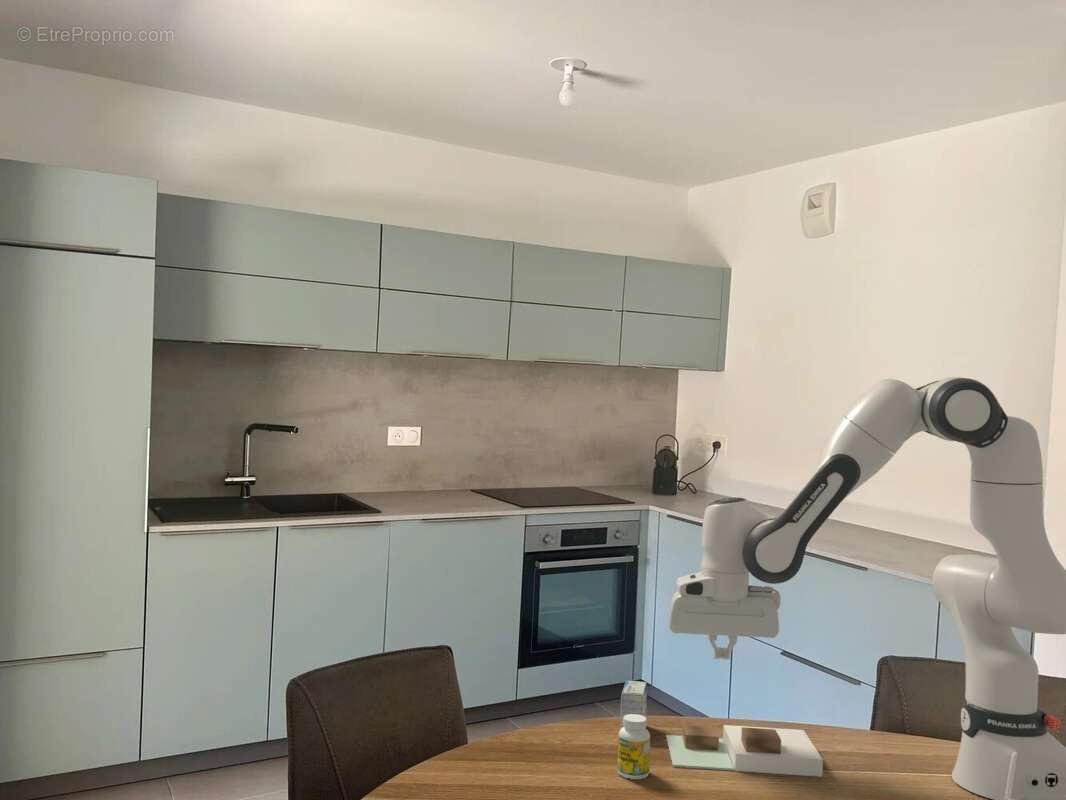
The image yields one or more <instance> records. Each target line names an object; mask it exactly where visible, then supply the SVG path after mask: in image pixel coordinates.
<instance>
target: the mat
mask: <svg viewBox="0 0 1066 800" xmlns="http://www.w3.org/2000/svg"><path fill="white" fill-rule="evenodd" d="M665 738H667V739H666V743H667V742H668V743H667V748H668V747H669V748H668V751H670V752H669V755H670V760H672V761H671V763H672V768H683V767H684V768H685V769H686V768H687V769H701V770H702V769H703V770H712V771H714V770H716V771H730V772H731V771H732V772H735V769H734V767H733V765H732V762H731V760H730V757H729V755H728V752H727V750H726V747H725V745H724V742H723V737H722V738H721V737H719V744H718V751H717V750H702V749H687V748H685V745H684V742H683V735H675V734H673V735H672V734H666V735H665ZM684 768H683V769H684Z"/></svg>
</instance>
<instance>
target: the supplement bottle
mask: <svg viewBox="0 0 1066 800" xmlns="http://www.w3.org/2000/svg"><path fill="white" fill-rule="evenodd" d="M623 725H624V727H623V728H622V729H621V730H619V731H618V747H617V750H618V751H617V772H618V774H619V775H620V776H621V777H622V778H625V779H628V778H630V779H629V780H642V779H646V778H647V777H648V776H649V773H650V752H651V751H650V749H651V748H650V745H651V733H650V732H649V730H648V729H646V728H647V726H648V725H647V717H646V718H645V717H644V716H642V715H637V714H628V715H625V716H624V717H623Z"/></svg>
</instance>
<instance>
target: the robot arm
mask: <svg viewBox="0 0 1066 800" xmlns="http://www.w3.org/2000/svg"><path fill="white" fill-rule="evenodd" d="M921 432H925V433H927V434H930V435H932V436H935V437H937V438H938V439H942V440H945V441H948V442H949V441H950V442H957V443H961V444H964V445H965V447H966V448H967V450H968V454H969V458H970V462H971V465H970V491H969V492H970V497H969V498H970V499H969V500H970V502H969V504H970V506H969V509H970V510H969V513H970V514H969V516H970V517H969V518H970V522H971V525H972V527H973V528H974V529H975V530H976V531H977V532H978V533H979V534H980V535H981V536H983V537H984V538H985V539H986V540H987V541H988V542H989V544H991V546H992V548H993V550H994V552H995V554H996V557H991V556H984V555H980V554H968V553H966V554H964V553H963V554H950V555H946V556H944V557H943V558H941V560H940V561H939V562H938V563H937V565H936V567H935V568H934V570H933V573H932V579H931V580H932V581H931V583H932V584H931V585H932V590H933V594H934V595H935V597H936V599H937V601H938V602H939V603H940V604H941V605H942V606H943V608H945V610H946V611H947V612H948V614H949V615H950V616H951V618H952V620H953V622H954V624H955V627H956V629H957V631H958V634H959V636H960V639H961V642H962V643H961V644H962V646H963V650H964V657H965V658H964V659H965V661H964V662H965V693H964V694H965V695H964V696H963V697H962V701H961V703H962V704H961V710H960V711H961V712H960V724H961V725H960V726H961V731H962V733H961V739H960V745H959V750H958V755H957V758H956V761H955V764H954V767H953V770H952V771H951V772H952V773H951V778H952V780H953V782H954V783H956V784H958V785H959V786H960V787H961V788H963V789H964V790H966V791H968V792H971V793H974V794H975V795H978V796H981V797H984V798H987V799H991V800H1066V746H1065V745H1063V744H1062V743H1061V742H1060V741H1059V740H1058V739H1056V737H1054V736H1053V735H1052V734H1050V733H1049V732H1048V728H1047V727H1049V728H1050V729H1051V730H1052V731H1057V730H1059V729H1060V728H1061V725H1062V724H1061V721H1060V719H1059V718H1058V717H1056V716H1054V715H1052V714H1048V713H1046V712H1044V711H1043V710H1041V709H1040V708H1038V699H1039V697H1038V696H1039V695H1038V694H1039V692H1038V691H1039V667H1038V664H1037V662H1036V659H1035V658H1034V657H1033V655H1031V653H1029V651H1027V650H1026V649H1025V648H1024V647H1023V646H1022V645H1021V644H1020V643H1019V641H1018V640H1017V638H1016V636H1015V635H1014V632H1013V629H1012V628H1014V629H1015V628H1016V629H1019V630H1024V631H1027V632H1031V633H1036V634H1045V635H1046V634H1047V635H1066V569H1065V568H1064V566H1063V565H1062V563H1061V562H1060V561H1059V560H1058V558H1057V555H1056V554H1055V552H1054V550H1053V548H1052V546H1051V544H1050V541H1049V539H1048V536H1047V533H1046V528H1045V519H1044V500H1043V499H1044V498H1043V497H1044V491H1043V490H1044V489H1043V487H1044V486H1043V485H1044V483H1043V482H1044V475H1043V474H1044V473H1043V472H1044V471H1043V459H1042V451H1041V446H1040V445H1041V444H1040V441H1039V436H1038V432H1037V430H1036V428H1035V427H1034V425H1032V423H1030V422H1028V421H1027V420H1025V419H1022V418H1020V417H1016V416H1009V415H1007V414H1006V412H1005V410H1004V409H1003V407H1002V406H1001V405H1000V403H999V400H998V399H997V397H996V395H995V394H994V393H993V391H992V390H991V389H990V388H989V387H988V386H986V385H985V384H984V383H982V382H981V381H978V380H976V379H972V378H968V377H967V378H966V377H961V376H960V377H959V376H958V377H957V376H951V377H945V378H942V379H939V380H936V381H933V382H930V383H927V384H925V385H922V386H919V387H916V388H914V387H913V386H911V385H909V384H908V383H906V382H905V381H902V380H899V379H894V378H887V379H882V380H880V381H878V382H877V383H876V384H874V385H873V386H872V387H871V388H869V389H868V390H867V391H866V392H865V393H863V394H862V395H861V396H860V397H859V398H858V399H857V400H856V401H855V402H854V403H853V404H852V405H851V406H850V407H849V408H848V409H847V411H846V412H845V413H844V414H843V415H842V416H841V417H840V419H839V420H838V421H837V422H836V424H835V425H834V426H833V428H832V430H830V432H829V434H828V436H827V437H826V439H825V441H824V443H823V445H822V447H821V449H820V452H819V457H818V460H817V463H816V466H815V468H814V471H813V473H812V475H811V477H810V478H809V480H808V481H807V483H806V484H805V485H804V487H803V488H802V489H801V490H800V492H798V494H797V495H796V497H794V498H793V500H791V503H789V505H788V506H787V507H786V508H785V509H784V511H783V512H782V513H781V514H780V515H779V516H776V515H773V514H770V513H767V512H765V511H764V510H762V509H760V508H758V507H757V506H755V505H754V504H752V503H751V502H749V501H748V499H746V498H743V497H738V496H737V497H726V498H720V499H716V500H713V501H711V502H710V504H708V506H707V507H706V508H705V510H704V514H703V519H702V520H703V521H702V531H701V546H702V552H703V555H702V560H701V563H700V571H698V572H695V573H691V574H687V575H683V576H680V577H677V578H676V581H675V582H676V583H675V584H676V585H675V586H676V591H675V592H674V593H673V595H672V597H671V599H670V602H669V603H670V604H669V609H668V616H667V617H668V618H667V619H668V620H667V625H668V628H669V630H670V631H671V632H672V633H674V634H688V635H689V634H690V635H691V634H692V635H707V638H708V640H709V642H710V644H711V646H712V648H713V650H712V651H713V652H712V653H713V659H716V660H717V659H718V660H731V654H732V653H731V652H732V651H733V648H734V647H735V645H736V644H737V643H738V637H746V638H747V637H749V638H765V639H767V638H768V639H774V638H776V637H777V636H778V635H779V633H780V622H779V613H778V610H779V609H780V607H781V594H780V592H779V591H778V590H777V589H775V588H773V587H772V586H767V585H766V586H760V585H759V586H758V585H749V583H750V582H749V581H750V579H749V578H750V574H751V576H752V577H754V578H755V579H756V580H758V581H760V582H762V583H766V584H769V585H770V584H773V585H775V584H776V585H777V584H778V585H779V584H782V583H786V582H788V581H790V580H791V579H793V578H794V577H795V576H796V575H797V574H798V572H799V571H800V569H801V568H802V567H801V566H802V564H803V561H804V557H805V553H806V549H807V547H808V545H809V542H810V541H811V540H812V538H813V537H814V535H815V534H816V533H817V532H818V531H819V529H820V528H821V527H823V525H824V524H825V522H826V521H827V519H828V518H829V517H830V516H831V515H832V513H833V512H834V511H835V510H836V509H837V507H838V506H839V505H840V504H841V503H842V502H843V501H845V499H846V498H847V497H848V496H850V495H851V494H852V493H853V492H855V491H856V490H857V489H858V488H860V487H861V486H862V485H864V484H865V483H866V482H868V481H869V480H870V479H871V478H872V477H874V476H875V475H876V474H877V473H878V472H879V471H880V470H881V469H883V468H884V466H886V464H888V463H889V461H890V460H891V459H893V457H894V456H895V455H896V454H897V453H898V451H899V450H900V449H901V447H902V446H903V445H904V444H905V442H906V441H908V440H909V439H910V438H912V437H913V436H914V435H916V434H918V433H921ZM718 636H727V639H728V640H729V641H728V643H727V645H726V646H725V647H721V646H720V647H719V646H717V644H716V643H715V642H716V641H717V640H718Z"/></svg>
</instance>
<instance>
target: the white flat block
mask: <svg viewBox="0 0 1066 800" xmlns="http://www.w3.org/2000/svg"><path fill="white" fill-rule="evenodd" d="M742 727H745V728H761V729H775V730H776V732H777V733H778V735H779V737H780V739H781V754H772V753H757V752H746V751H745V748H744V746H743V744H742V742H741V734H742ZM722 728H723V729H722V730H723V731H722V732H723V733H722V734H723V736H722V740H723V742H724V744H725V747H726V750H727V752H728V755H729V757H730V760H731V762H732V765H733V767H734V772H744V773H761V774H762V773H763V774H774V775H791V776H804V777H805V776H806V777H822V778H823V767H824V759H823V757H822V756H821V754H820V753H819V751H818V749H817V748H816V747H815V746H814V744H813V742H812V741H811V739H810V738H809V736H808V735H807V733H806V732H805V730H804V729H795V728H794V729H793V728H792V729H791V728H777V727H763V726H760V727H759V726H748V725H747V726H745V725H729V724H728V725H727V724H723V727H722Z"/></svg>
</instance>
